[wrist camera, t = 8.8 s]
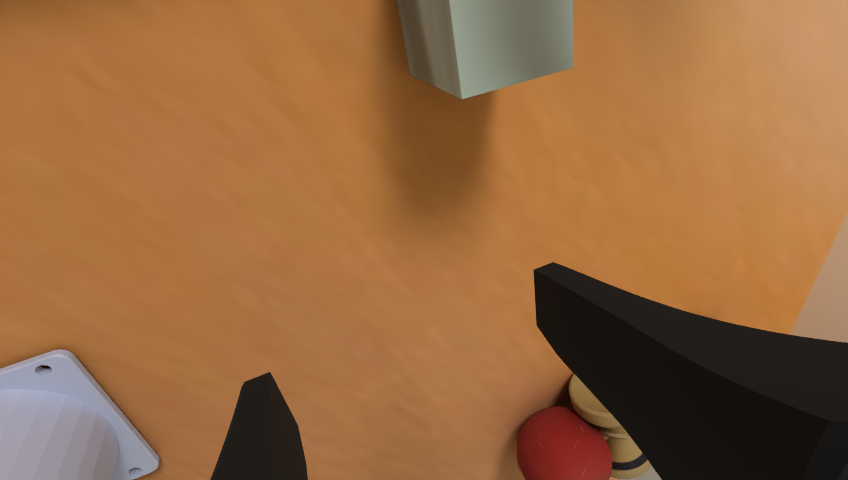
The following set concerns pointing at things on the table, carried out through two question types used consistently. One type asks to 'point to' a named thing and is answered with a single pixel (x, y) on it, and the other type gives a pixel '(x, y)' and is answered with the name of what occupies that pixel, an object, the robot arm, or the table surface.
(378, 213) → the table surface
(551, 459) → the kendama
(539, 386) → the table surface
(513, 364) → the table surface
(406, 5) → the grey block with peg
